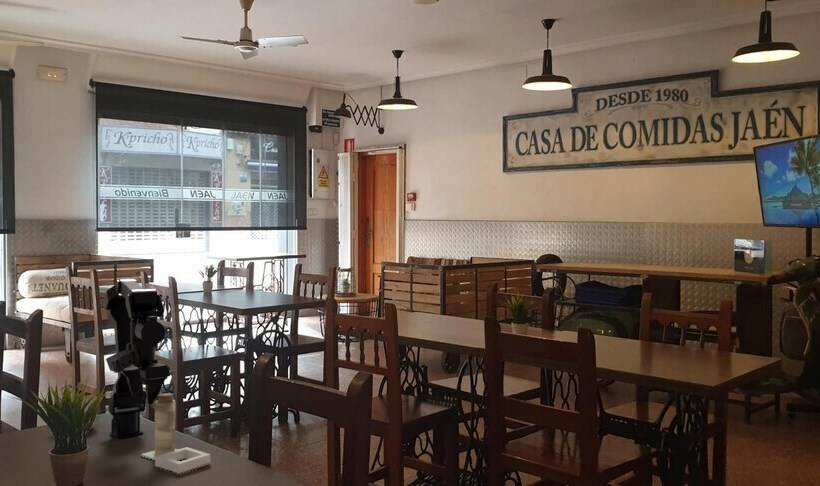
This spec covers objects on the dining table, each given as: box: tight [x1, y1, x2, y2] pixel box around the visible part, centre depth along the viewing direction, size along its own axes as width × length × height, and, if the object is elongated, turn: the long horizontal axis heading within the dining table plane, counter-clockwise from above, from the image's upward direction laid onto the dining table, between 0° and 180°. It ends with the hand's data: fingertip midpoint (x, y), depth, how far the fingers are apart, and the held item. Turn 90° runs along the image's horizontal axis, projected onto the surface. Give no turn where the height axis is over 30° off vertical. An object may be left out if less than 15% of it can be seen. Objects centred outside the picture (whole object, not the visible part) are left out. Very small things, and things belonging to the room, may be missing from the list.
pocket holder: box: [154, 446, 211, 473], centre depth 174 cm, size 9×9×2 cm
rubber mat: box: [140, 448, 178, 461], centre depth 181 cm, size 8×8×1 cm
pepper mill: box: [154, 392, 176, 456], centre depth 181 cm, size 5×5×15 cm
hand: (142, 400), depth 183 cm, fingers open, 9 cm apart
